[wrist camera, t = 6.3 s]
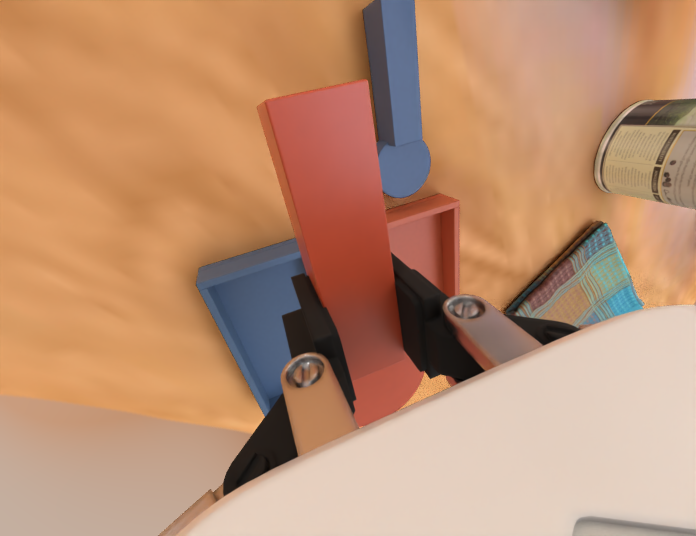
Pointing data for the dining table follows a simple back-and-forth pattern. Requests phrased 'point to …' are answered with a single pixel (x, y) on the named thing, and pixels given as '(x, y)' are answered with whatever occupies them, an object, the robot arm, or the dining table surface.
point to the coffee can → (651, 153)
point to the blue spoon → (396, 95)
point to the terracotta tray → (428, 239)
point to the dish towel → (582, 284)
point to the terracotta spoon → (344, 233)
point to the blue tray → (255, 312)
